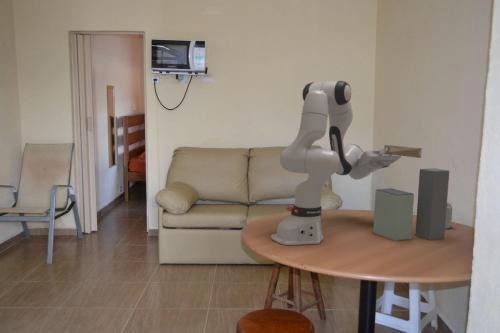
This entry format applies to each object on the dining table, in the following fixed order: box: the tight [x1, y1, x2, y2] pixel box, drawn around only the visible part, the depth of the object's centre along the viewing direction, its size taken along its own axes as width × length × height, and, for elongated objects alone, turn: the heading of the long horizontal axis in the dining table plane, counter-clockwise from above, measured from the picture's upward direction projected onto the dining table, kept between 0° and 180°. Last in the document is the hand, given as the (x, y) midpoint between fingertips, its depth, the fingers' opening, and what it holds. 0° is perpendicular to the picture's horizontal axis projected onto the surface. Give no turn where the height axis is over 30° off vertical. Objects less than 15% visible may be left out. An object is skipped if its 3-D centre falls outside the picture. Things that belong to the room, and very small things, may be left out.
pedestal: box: [415, 167, 450, 241], centre depth 195 cm, size 9×8×30 cm
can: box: [445, 202, 453, 230], centre depth 213 cm, size 8×8×12 cm
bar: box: [383, 144, 423, 159], centre depth 196 cm, size 2×20×4 cm, turn 25°
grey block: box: [372, 187, 415, 242], centre depth 197 cm, size 9×14×20 cm, turn 25°
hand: (391, 148), depth 202 cm, fingers closed on bar, 2 cm apart
